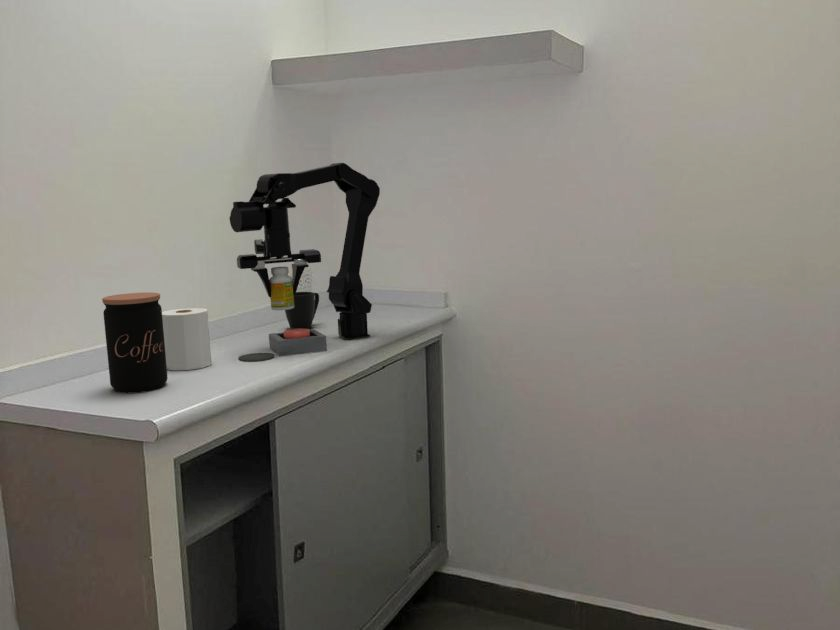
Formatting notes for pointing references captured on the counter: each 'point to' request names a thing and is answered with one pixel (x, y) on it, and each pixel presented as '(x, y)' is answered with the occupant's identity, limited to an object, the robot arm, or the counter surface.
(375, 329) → the counter surface
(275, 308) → the supplement bottle
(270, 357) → the coaster
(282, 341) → the grey square tray
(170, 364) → the toilet paper
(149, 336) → the coffee jar
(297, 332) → the button
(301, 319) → the mug
